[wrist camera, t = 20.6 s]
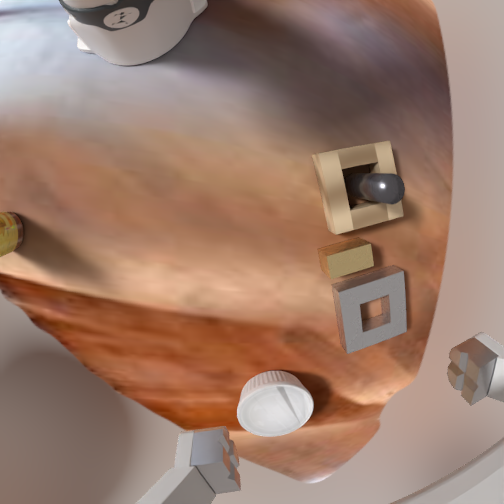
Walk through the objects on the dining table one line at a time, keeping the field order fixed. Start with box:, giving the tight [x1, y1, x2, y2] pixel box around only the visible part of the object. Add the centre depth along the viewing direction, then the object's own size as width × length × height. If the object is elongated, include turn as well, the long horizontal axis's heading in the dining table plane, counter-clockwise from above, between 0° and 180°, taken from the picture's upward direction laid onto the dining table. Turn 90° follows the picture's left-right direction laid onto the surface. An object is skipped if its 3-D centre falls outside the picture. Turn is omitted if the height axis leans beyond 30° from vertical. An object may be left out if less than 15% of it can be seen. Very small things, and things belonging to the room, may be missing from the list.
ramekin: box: [237, 370, 314, 437], centre depth 43 cm, size 11×11×5 cm
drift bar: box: [318, 237, 374, 279], centre depth 38 cm, size 3×6×4 cm, turn 104°
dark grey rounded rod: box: [344, 173, 405, 204], centre depth 34 cm, size 3×3×10 cm
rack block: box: [312, 141, 404, 235], centre depth 37 cm, size 10×10×3 cm
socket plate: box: [332, 265, 407, 354], centre depth 41 cm, size 10×10×3 cm
